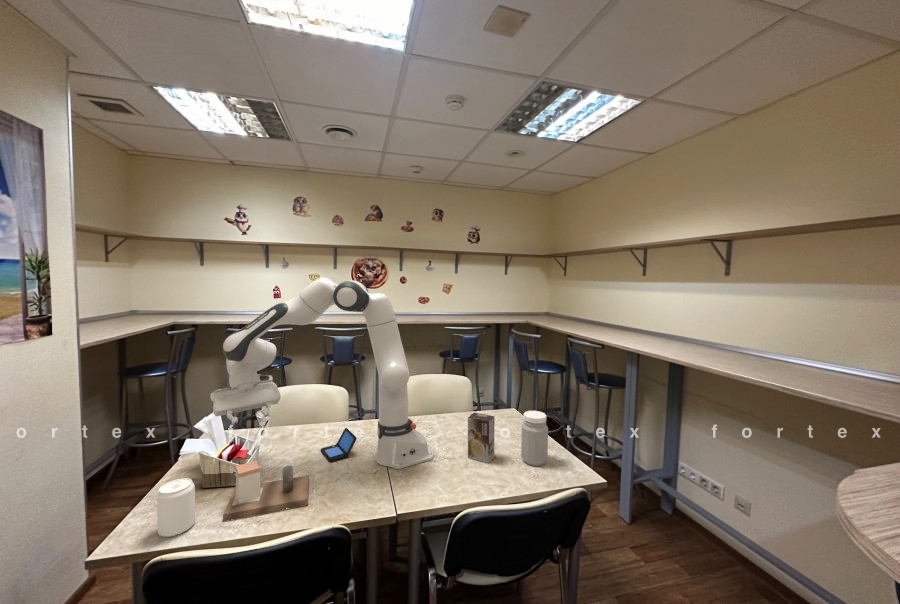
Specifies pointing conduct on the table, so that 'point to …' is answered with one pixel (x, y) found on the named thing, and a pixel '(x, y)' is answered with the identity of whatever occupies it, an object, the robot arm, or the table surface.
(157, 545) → the table surface
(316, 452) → the table surface
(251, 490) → the white tall block
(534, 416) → the jar
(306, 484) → the board
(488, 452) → the coffee box
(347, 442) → the handheld game console
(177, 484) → the white cylinder
